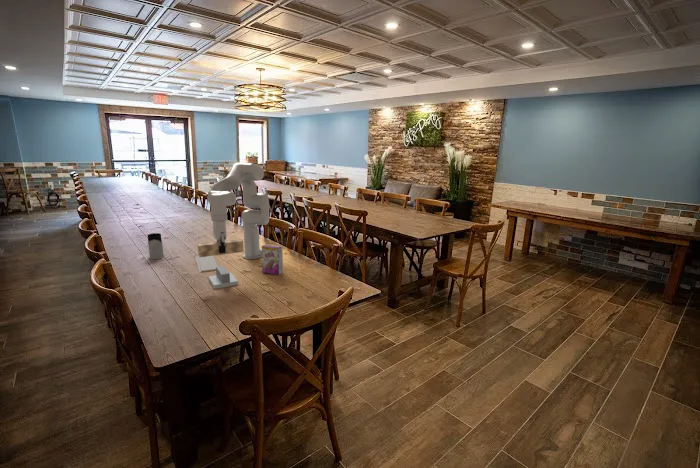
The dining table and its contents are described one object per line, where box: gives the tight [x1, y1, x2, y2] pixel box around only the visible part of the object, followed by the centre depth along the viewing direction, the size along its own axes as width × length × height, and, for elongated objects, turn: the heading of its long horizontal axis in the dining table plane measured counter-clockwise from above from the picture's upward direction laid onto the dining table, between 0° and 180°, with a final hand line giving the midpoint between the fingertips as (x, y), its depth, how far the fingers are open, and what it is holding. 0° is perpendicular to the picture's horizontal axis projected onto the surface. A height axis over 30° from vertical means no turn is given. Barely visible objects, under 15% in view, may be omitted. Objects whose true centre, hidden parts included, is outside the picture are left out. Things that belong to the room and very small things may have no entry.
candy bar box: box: [261, 243, 284, 276], centre depth 198 cm, size 11×5×16 cm, turn 71°
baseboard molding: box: [194, 254, 218, 273], centre depth 213 cm, size 31×3×12 cm
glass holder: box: [147, 232, 165, 260], centre depth 224 cm, size 9×14×15 cm, turn 24°
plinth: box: [208, 265, 239, 289], centre depth 184 cm, size 12×14×7 cm
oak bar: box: [197, 238, 245, 257], centre depth 181 cm, size 22×4×6 cm, turn 122°
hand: (221, 251), depth 181 cm, fingers closed on oak bar, 4 cm apart
